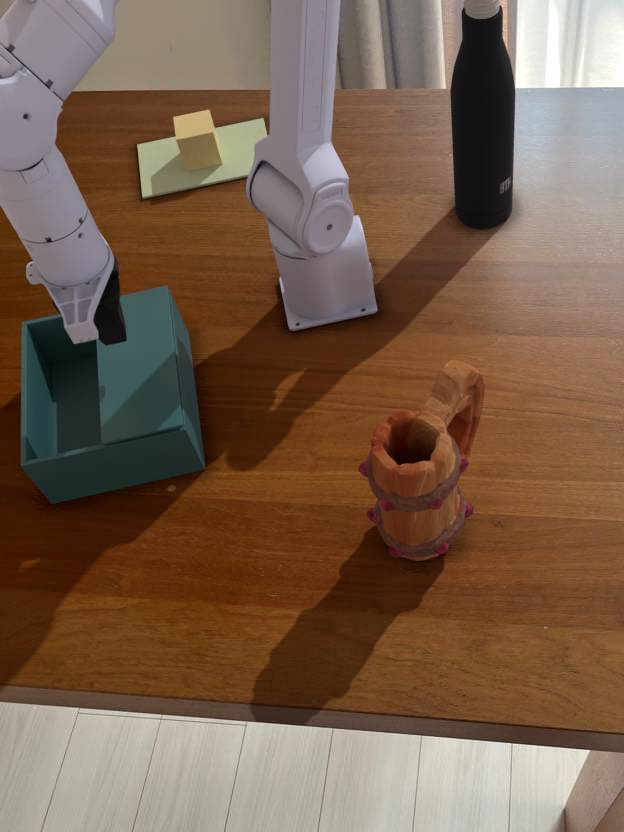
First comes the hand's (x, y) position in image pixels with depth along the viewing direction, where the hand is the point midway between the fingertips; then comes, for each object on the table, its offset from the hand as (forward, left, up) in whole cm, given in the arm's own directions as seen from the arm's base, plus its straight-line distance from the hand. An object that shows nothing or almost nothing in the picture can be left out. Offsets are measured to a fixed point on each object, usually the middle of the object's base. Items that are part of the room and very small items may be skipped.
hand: (115, 338), depth 80 cm
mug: (-25, +19, -11) cm, 33 cm away
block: (-9, -37, -10) cm, 39 cm away
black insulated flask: (-39, -18, -11) cm, 44 cm away
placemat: (-9, -37, -10) cm, 39 cm away
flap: (-1, 0, -4) cm, 4 cm away
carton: (+3, 0, -10) cm, 11 cm away
